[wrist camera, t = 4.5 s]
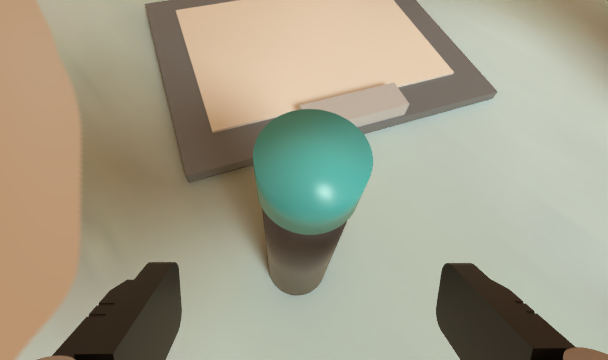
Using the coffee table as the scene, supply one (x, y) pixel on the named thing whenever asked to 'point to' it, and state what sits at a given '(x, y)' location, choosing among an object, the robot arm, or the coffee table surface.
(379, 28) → the clipboard
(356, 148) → the marker
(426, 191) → the coffee table surface
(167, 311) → the robot arm
